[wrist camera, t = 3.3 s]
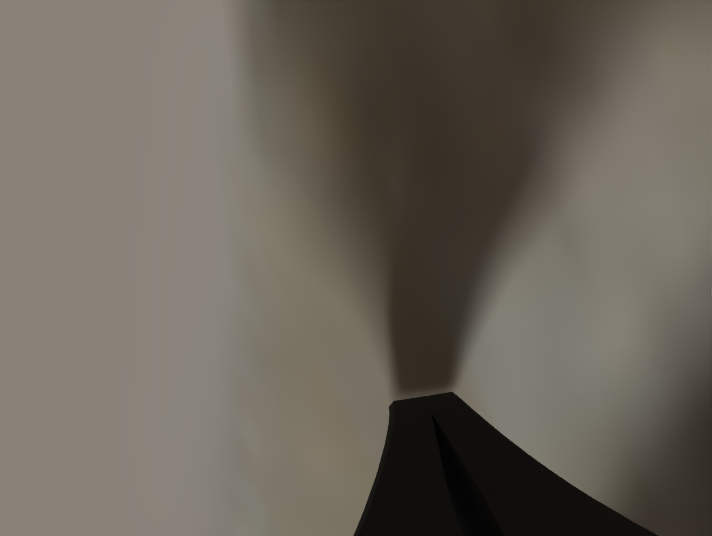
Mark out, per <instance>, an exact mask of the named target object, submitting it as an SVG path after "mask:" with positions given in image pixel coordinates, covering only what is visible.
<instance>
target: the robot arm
mask: <svg viewBox="0 0 712 536" xmlns="http://www.w3.org/2000/svg"><path fill="white" fill-rule="evenodd" d="M354 536H658V535H656V534H654V533H652V532H650V531H649V530H647V529H645V528H643V527H641V526H640V525H638V524H636V523H634V522H632V521H631V520H629V519H627V518H626V517H624V516H622V515H621V514H619V513H617V512H616V511H614V510H612V509H610V508H609V507H607V506H605V505H604V504H602V503H600V502H599V501H597V500H595V499H593V498H592V497H590V496H589V495H587V494H585V493H584V492H582V491H581V490H579V489H577V488H576V487H574V486H573V485H571V484H570V483H568V482H567V481H565V480H564V479H562V478H561V477H559V476H558V475H557V474H555V473H554V472H552V471H551V470H549V469H548V468H546V467H545V466H543V465H542V464H541V463H539V462H538V461H537V460H535V459H534V458H533V457H531V456H530V455H528V454H527V453H526V452H525V451H523V450H522V449H521V448H519V447H518V446H517V445H516V444H514V443H513V442H512V441H510V440H509V439H508V438H507V437H505V436H504V435H503V434H501V433H500V432H499V431H498V430H497V429H495V428H494V427H493V426H492V425H491V424H489V423H488V422H487V421H486V420H485V419H483V418H482V417H481V416H480V415H479V414H478V413H476V412H475V411H474V410H473V409H472V408H471V407H470V406H468V405H467V404H466V403H465V402H464V401H463V400H462V399H461V398H459V397H458V396H457V395H456V394H454V393H453V392H449V393H443V394H436V395H430V396H423V397H417V398H411V399H404V400H398V401H393V403H392V404H391V405H390V406H389V425H388V431H387V436H386V441H385V446H384V449H383V453H382V457H381V461H380V464H379V468H378V472H377V475H376V478H375V481H374V484H373V486H372V489H371V492H370V495H369V498H368V500H367V503H366V506H365V509H364V512H363V514H362V517H361V519H360V521H359V524H358V526H357V529H356V531H355V533H354Z"/></svg>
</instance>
